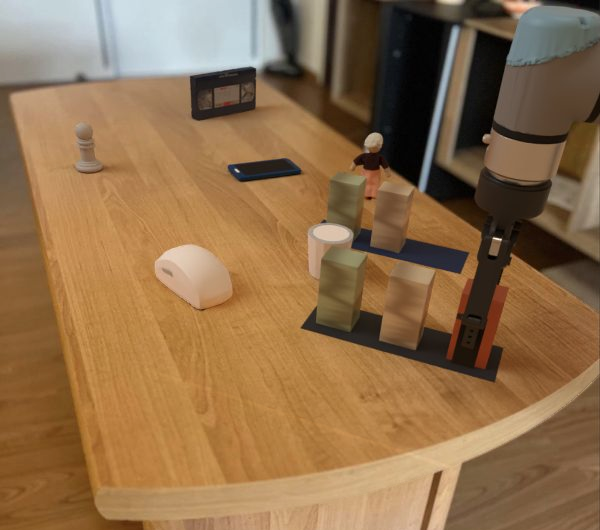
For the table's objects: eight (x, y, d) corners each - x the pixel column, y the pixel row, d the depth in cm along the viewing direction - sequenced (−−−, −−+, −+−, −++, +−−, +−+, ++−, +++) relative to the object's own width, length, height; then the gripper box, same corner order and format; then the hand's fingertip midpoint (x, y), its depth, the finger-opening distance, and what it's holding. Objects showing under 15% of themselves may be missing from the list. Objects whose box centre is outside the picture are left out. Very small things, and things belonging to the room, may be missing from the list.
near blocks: (422, 334, 85) (436, 270, 79) (415, 350, 82) (429, 284, 76) (325, 308, 89) (331, 245, 83) (315, 323, 86) (320, 258, 80)
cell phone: (226, 168, 130) (226, 164, 129) (287, 160, 135) (288, 157, 134) (239, 181, 124) (239, 177, 124) (302, 173, 130) (302, 169, 129)
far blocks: (405, 243, 106) (414, 186, 100) (399, 253, 103) (408, 195, 97) (332, 226, 110) (338, 171, 104) (325, 236, 107) (329, 179, 101)
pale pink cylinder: (299, 279, 96) (301, 237, 92) (312, 259, 101) (315, 218, 97) (342, 288, 94) (347, 247, 90) (354, 267, 100) (359, 227, 95)
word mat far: (468, 254, 105) (469, 252, 105) (459, 276, 99) (460, 273, 99) (323, 221, 112) (323, 219, 112) (306, 239, 106) (306, 237, 106)
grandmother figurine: (385, 196, 123) (395, 131, 115) (387, 204, 120) (397, 138, 112) (346, 194, 123) (353, 128, 115) (347, 202, 120) (353, 135, 112)
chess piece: (97, 174, 124) (91, 128, 118) (71, 172, 124) (63, 125, 119) (107, 164, 128) (101, 119, 123) (82, 162, 128) (74, 117, 123)
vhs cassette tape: (196, 121, 153) (194, 77, 147) (190, 117, 155) (187, 74, 149) (257, 109, 163) (257, 68, 157) (250, 106, 165) (250, 65, 159)
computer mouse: (187, 263, 98) (184, 226, 94) (238, 299, 91) (238, 261, 87) (150, 276, 94) (147, 238, 91) (201, 315, 87) (199, 275, 83)
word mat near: (502, 349, 84) (503, 347, 84) (493, 384, 78) (494, 382, 78) (320, 301, 91) (321, 299, 91) (299, 330, 85) (300, 328, 85)
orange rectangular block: (489, 352, 83) (509, 287, 77) (485, 369, 80) (504, 303, 74) (452, 342, 84) (468, 277, 78) (446, 359, 81) (462, 292, 75)
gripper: (498, 132, 78) (461, 281, 90) (460, 208, 59) (420, 382, 72) (561, 144, 75) (514, 294, 88) (543, 226, 57) (487, 402, 70)
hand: (472, 334), depth 80 cm, fingers open, 13 cm apart
